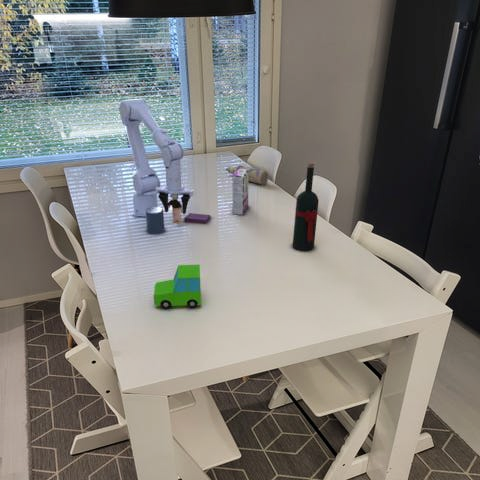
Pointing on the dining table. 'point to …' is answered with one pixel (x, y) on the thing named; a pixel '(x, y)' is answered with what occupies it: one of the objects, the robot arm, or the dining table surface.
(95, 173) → the dining table surface
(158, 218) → the tin can
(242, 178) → the candy bar box
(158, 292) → the toy car
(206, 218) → the purple box
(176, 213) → the grandmother figurine
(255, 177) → the decorative bottle
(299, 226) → the wine bottle
